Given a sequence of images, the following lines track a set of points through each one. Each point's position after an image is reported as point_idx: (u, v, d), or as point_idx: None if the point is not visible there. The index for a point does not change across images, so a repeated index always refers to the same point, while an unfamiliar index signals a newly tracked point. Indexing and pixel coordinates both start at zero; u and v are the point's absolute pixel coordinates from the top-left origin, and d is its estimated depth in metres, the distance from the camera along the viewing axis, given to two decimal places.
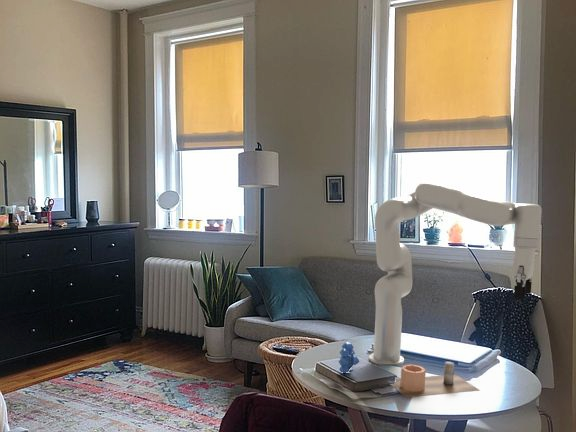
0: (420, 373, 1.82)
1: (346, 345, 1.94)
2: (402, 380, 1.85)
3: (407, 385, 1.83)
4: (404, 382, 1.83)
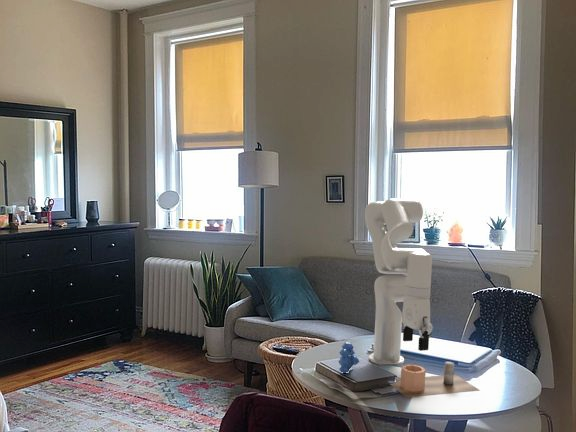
0: (420, 373, 1.82)
1: (346, 345, 1.94)
2: (402, 380, 1.85)
3: (407, 385, 1.83)
4: (404, 382, 1.83)
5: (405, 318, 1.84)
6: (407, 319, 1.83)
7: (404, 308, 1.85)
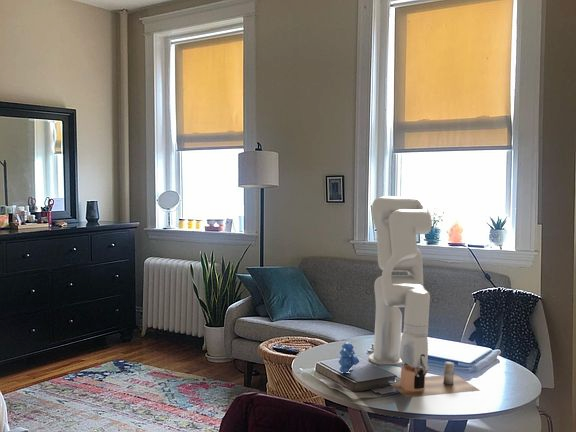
0: None
1: (346, 345, 1.94)
2: (402, 380, 1.85)
3: (407, 385, 1.83)
4: (404, 382, 1.83)
5: (403, 354, 1.86)
6: (405, 356, 1.84)
7: (402, 344, 1.87)
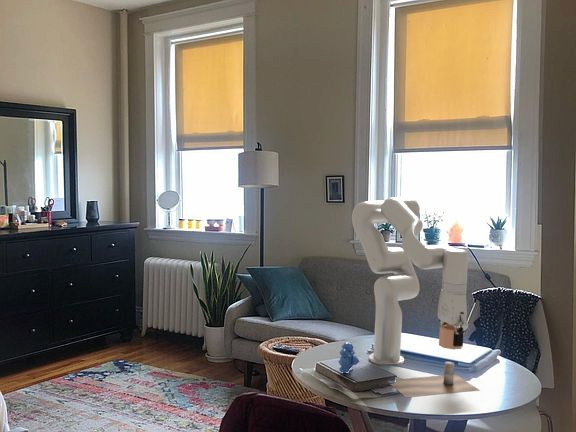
0: None
1: (346, 345, 1.94)
2: (441, 339, 1.87)
3: (446, 343, 1.85)
4: (443, 340, 1.86)
5: (441, 313, 1.88)
6: (443, 314, 1.87)
7: (440, 304, 1.89)
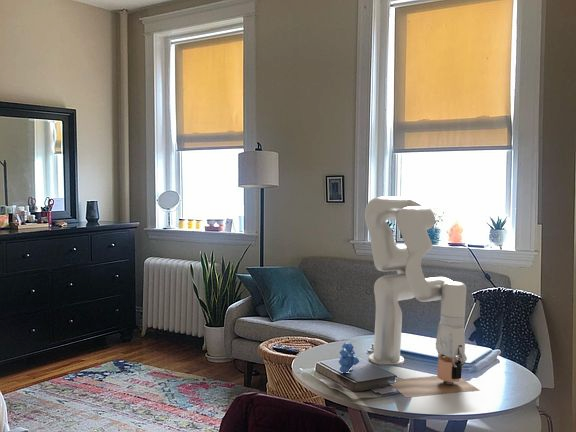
0: None
1: (346, 345, 1.94)
2: (439, 371, 1.88)
3: (444, 376, 1.86)
4: (441, 373, 1.87)
5: (439, 346, 1.89)
6: (442, 347, 1.88)
7: (438, 336, 1.90)
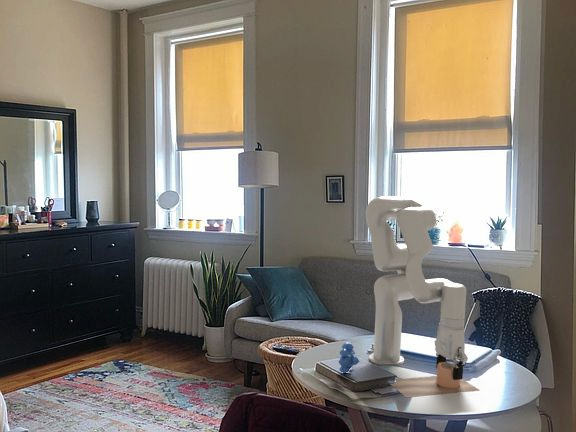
0: None
1: (346, 345, 1.94)
2: (438, 377, 1.88)
3: (443, 382, 1.87)
4: (440, 379, 1.87)
5: (439, 347, 1.89)
6: (441, 348, 1.88)
7: (438, 337, 1.90)
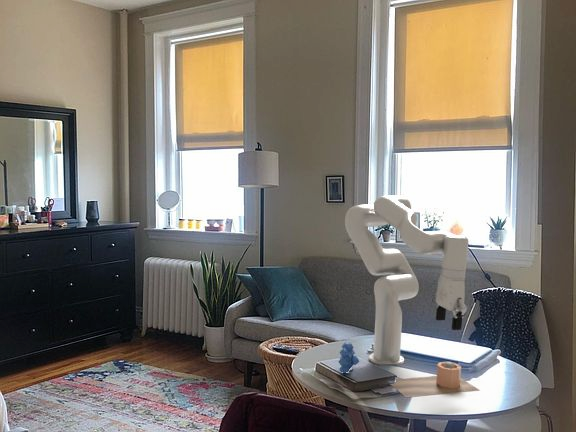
0: (456, 370, 1.86)
1: (346, 345, 1.94)
2: (438, 377, 1.88)
3: (443, 382, 1.87)
4: (440, 379, 1.87)
5: (439, 298, 1.91)
6: (441, 299, 1.90)
7: (438, 289, 1.92)
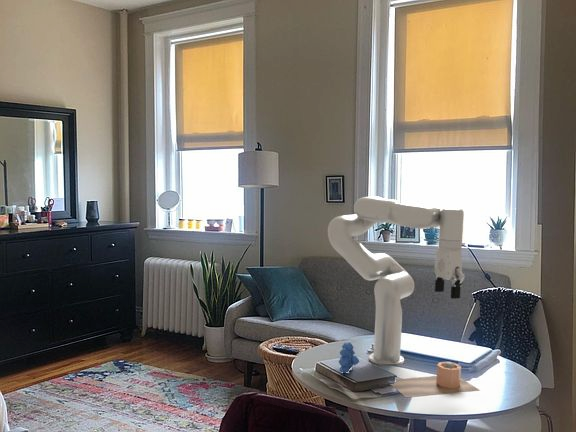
0: (456, 370, 1.86)
1: (346, 345, 1.94)
2: (438, 377, 1.88)
3: (443, 382, 1.87)
4: (440, 379, 1.87)
5: (438, 269, 1.98)
6: (440, 270, 1.97)
7: (437, 260, 1.99)
